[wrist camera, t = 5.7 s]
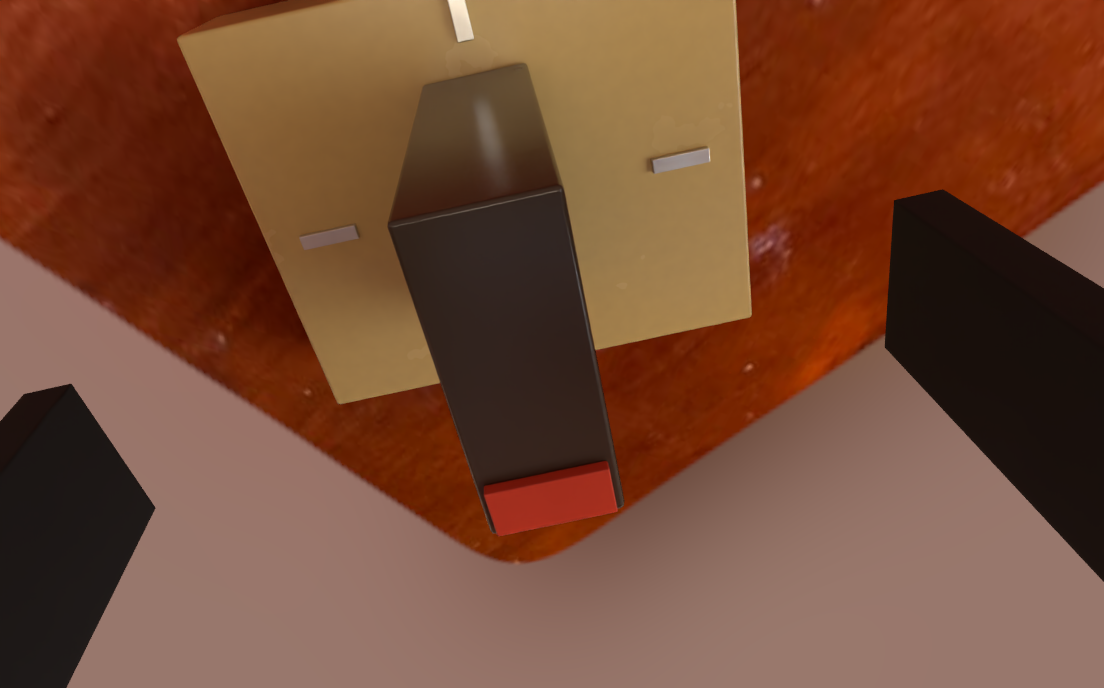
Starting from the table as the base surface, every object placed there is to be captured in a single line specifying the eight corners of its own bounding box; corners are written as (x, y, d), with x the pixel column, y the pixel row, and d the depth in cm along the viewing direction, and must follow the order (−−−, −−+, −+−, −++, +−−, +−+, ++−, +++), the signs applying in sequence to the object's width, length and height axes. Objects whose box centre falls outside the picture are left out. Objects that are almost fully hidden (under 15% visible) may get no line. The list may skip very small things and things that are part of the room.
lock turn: (421, 85, 16) (383, 231, 9) (526, 61, 16) (565, 191, 9) (485, 312, 20) (491, 546, 13) (573, 293, 19) (628, 519, 13)
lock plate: (353, 352, 23) (337, 412, 21) (214, 12, 18) (168, 34, 15) (722, 273, 23) (754, 323, 20) (695, -98, 18) (734, -95, 15)
